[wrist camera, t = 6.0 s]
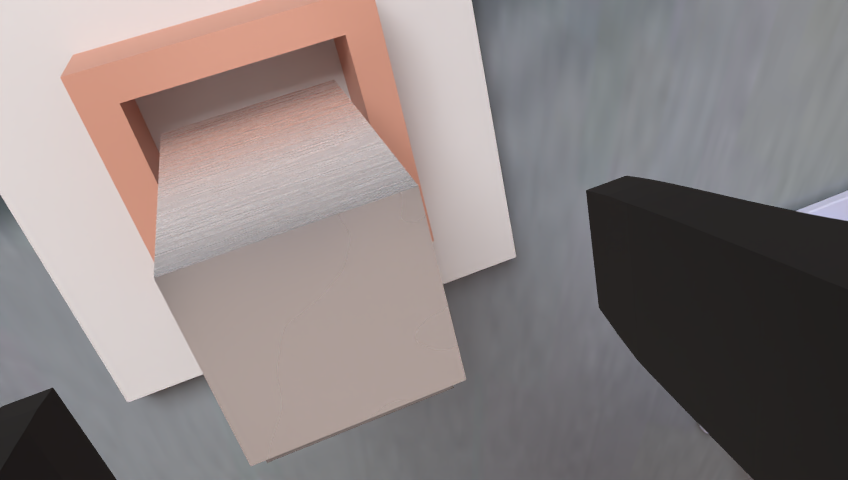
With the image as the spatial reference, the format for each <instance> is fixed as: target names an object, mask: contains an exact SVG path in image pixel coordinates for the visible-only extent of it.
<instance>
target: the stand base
mask: <svg viewBox="0 0 848 480" xmlns="http://www.w3.org/2000/svg"><path fill="white" fill-rule="evenodd" d="M333 79H334V80H335V81H336V82H337V84H338V85H339V86H340V88H341V89H342V90H343V91H344V93H345V94H346V95H347V96H348V98H349V99H350V100H351V101H352V103H353V104H354V105H355V106H356V108H357V109H358V110H359V111H360V113H361V114H362V115H363V117H364V118H365V119H366V120H367V122H368V123H369V124H370V125H371V127H372V128H373V129H374V130H375V132H376V133H377V134H378V135H379V137H380V138H381V139H382V141H383V142H384V143H385V144H386V146H387V147H388V148H389V149H390V151H391V152H392V153H393V154H394V156H395V157H396V158H397V159H398V161H399V162H400V163H401V165H402V166H403V167H404V168H405V170H406V171H407V172H408V173H409V175H410V176H411V177H412V178H413V180H414V181H415V182H416V183H417V185H418V186H419V190H420V194H421V198H422V202H423V206H424V210H425V214H426V218H427V223H428V227H429V231H430V235H431V239H432V243H433V247H434V251H435V255H436V259H437V263H438V267H439V271H440V275H441V279H442V283H443V284H445V283H448V282H451V281H453V280H456V279H459V278H461V277H464V276H467V275H469V274H472V273H475V272H477V271H480V270H483V269H485V268H488V267H491V266H493V265H496V264H499V263H501V262H504V261H507V260H509V259H512V258H515V257H516V253H515V247H514V242H513V236H512V230H511V224H510V219H509V213H508V207H507V201H506V196H505V190H504V184H503V178H502V173H501V167H500V161H499V155H498V150H497V144H496V138H495V132H494V127H493V121H492V115H491V109H490V104H489V98H488V92H487V86H486V81H485V75H484V69H483V63H482V58H481V52H480V46H479V40H478V35H477V29H476V23H475V17H474V12H473V6H472V0H0V195H1V196H2V198H3V199H4V201H5V203H6V204H7V206H8V208H9V209H10V211H11V213H12V214H13V216H14V217H15V219H16V221H17V222H18V224H19V226H20V227H21V229H22V231H23V232H24V234H25V235H26V237H27V239H28V240H29V242H30V244H31V245H32V247H33V249H34V250H35V252H36V253H37V255H38V257H39V258H40V260H41V262H42V263H43V265H44V267H45V268H46V270H47V271H48V273H49V275H50V276H51V278H52V280H53V281H54V283H55V285H56V286H57V288H58V289H59V291H60V293H61V294H62V296H63V298H64V299H65V301H66V303H67V304H68V306H69V307H70V309H71V311H72V312H73V314H74V316H75V317H76V319H77V321H78V322H79V324H80V325H81V327H82V329H83V330H84V332H85V334H86V335H87V337H88V338H89V340H90V342H91V343H92V345H93V347H94V348H95V350H96V352H97V353H98V355H99V356H100V358H101V360H102V361H103V363H104V365H105V366H106V368H107V370H108V371H109V373H110V374H111V376H112V378H113V379H114V381H115V383H116V384H117V386H118V388H119V389H120V391H121V392H122V394H123V396H124V397H125V399H126V401H127V402H130V401H133V400H136V399H138V398H141V397H144V396H146V395H149V394H152V393H154V392H157V391H160V390H162V389H165V388H168V387H170V386H173V385H176V384H178V383H181V382H184V381H186V380H189V379H192V378H194V377H197V376H200V375H202V374H203V373H202V371H201V369H200V367H199V365H198V363H197V361H196V359H195V357H194V355H193V353H192V351H191V349H190V348H189V346H188V344H187V342H186V340H185V338H184V336H183V334H182V332H181V330H180V328H179V326H178V324H177V322H176V320H175V318H174V317H173V315H172V313H171V311H170V309H169V307H168V305H167V303H166V301H165V299H164V297H163V295H162V293H161V291H160V289H159V287H158V285H157V284H156V282H155V280H154V260H155V240H156V219H157V199H158V179H159V159H160V139H161V133H164V132H168V131H171V130H174V129H177V128H180V127H183V126H187V125H190V124H193V123H196V122H199V121H203V120H206V119H209V118H212V117H215V116H218V115H222V114H225V113H228V112H231V111H234V110H238V109H241V108H244V107H247V106H250V105H253V104H257V103H260V102H263V101H266V100H269V99H273V98H276V97H279V96H282V95H285V94H288V93H292V92H295V91H298V90H301V89H304V88H308V87H311V86H314V85H317V84H320V83H323V82H327V81H330V80H333Z"/></svg>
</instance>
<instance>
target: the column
mask: <svg viewBox="0 0 848 480" xmlns="http://www.w3.org/2000/svg"><path fill="white" fill-rule="evenodd" d="M154 280H155V282H156V284H157V285H158V287H159V289H160V291H161V293H162V295H163V297H164V299H165V301H166V303H167V305H168V307H169V309H170V311H171V313H172V315H173V317H174V318H175V320H176V322H177V324H178V326H179V328H180V330H181V332H182V334H183V336H184V338H185V340H186V342H187V344H188V346H189V348H190V349H191V351H192V353H193V355H194V357H195V359H196V361H197V363H198V365H199V367H200V369H201V371H202V373H203V375H204V377H205V379H206V380H207V382H208V384H209V386H210V388H211V390H212V392H213V394H214V396H215V398H216V400H217V402H218V404H219V406H220V408H221V410H222V411H223V413H224V415H225V417H226V419H227V421H228V423H229V425H230V427H231V429H232V431H233V433H234V435H235V437H236V439H237V441H238V442H239V444H240V446H241V448H242V450H243V452H244V454H245V456H246V458H247V460H248V462H249V464H250V466H253V465H255V464H258V463H260V462H263V461H265V460H266V461H267V463H268V462H270V461H273V460H275V459H278V458H280V457H283V456H285V455H288V454H290V453H293V452H295V451H298V450H300V449H303V448H305V447H308V446H310V445H313V444H315V443H317V442H320V441H322V440H325V439H327V438H330V437H332V436H335V435H337V434H340V433H342V432H345V431H347V430H350V429H352V428H355V427H357V426H360V425H362V424H365V423H367V422H370V421H372V420H375V419H377V418H380V417H382V416H385V415H387V414H390V413H392V412H395V411H397V410H400V409H402V408H405V407H407V406H410V405H412V404H414V403H417V402H419V401H422V400H424V399H427V398H429V397H432V396H434V395H437V394H439V393H442V392H444V391H447V390H449V389H452V388H454V387H453V385H455V384H457V383H460V382H462V381H465V380H466V376H465V372H464V368H463V364H462V360H461V356H460V352H459V348H458V344H457V340H456V336H455V332H454V328H453V324H452V320H451V316H450V311H449V307H448V303H447V299H446V295H445V291H444V287H443V283H442V279H441V275H440V271H439V267H438V263H437V259H436V255H435V251H434V247H433V243H432V239H431V235H430V231H429V227H428V223H427V218H426V214H425V210H424V206H423V202H422V198H421V194H420V190H419V186H418V185H417V183H416V182H415V181H414V180H413V178H412V177H411V176H410V175H409V173H408V172H407V171H406V170H405V168H404V167H403V166H402V165H401V163H400V162H399V161H398V159H397V158H396V157H395V156H394V154H393V153H392V152H391V151H390V149H389V148H388V147H387V146H386V144H385V143H384V142H383V141H382V139H381V138H380V137H379V135H378V134H377V133H376V132H375V130H374V129H373V128H372V127H371V125H370V124H369V123H368V122H367V120H366V119H365V118H364V117H363V115H362V114H361V113H360V111H359V110H358V109H357V108H356V106H355V105H354V104H353V103H352V101H351V100H350V99H349V98H348V96H347V95H346V94H345V93H344V91H343V90H342V89H341V88H340V86H339V85H338V84H337V82H336V81H335V80H334V79H333V80H330V81H327V82H323V83H320V84H317V85H314V86H311V87H308V88H304V89H301V90H298V91H295V92H292V93H288V94H285V95H282V96H279V97H276V98H273V99H269V100H266V101H263V102H260V103H257V104H253V105H250V106H247V107H244V108H241V109H238V110H234V111H231V112H228V113H225V114H222V115H218V116H215V117H212V118H209V119H206V120H203V121H199V122H196V123H193V124H190V125H187V126H183V127H180V128H177V129H174V130H171V131H168V132H164V133H161V139H160V159H159V179H158V199H157V219H156V240H155V260H154Z"/></svg>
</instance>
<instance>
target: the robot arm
mask: <svg viewBox="0 0 848 480" xmlns="http://www.w3.org/2000/svg"><path fill="white" fill-rule="evenodd" d="M586 194H587V203H588V212H589V221H590V230H591V239H592V248H593V257H594V267H595V276H596V285H597V294H598V303H599V308H600V310H601V311H602V312H603V314H604V315H605V317H606V318H607V319H608V321H609V322H610V324H611V325H612V326H613V328H614V329H615V331H616V332H617V334H618V335H619V336H620V338H621V339H622V340H623V342H624V343H625V344H626V346H627V347H628V348H629V349H630V351H631V352H632V353H633V355H634V356H635V357H636V359H637V360H638V361H639V362H640V363H641V364H642V365H643V367H644V368H645V369H646V370H647V371H648V372H649V373H650V374H651V375H652V376H653V377H654V378H655V379H656V380H657V381H658V382H659V383H660V384H661V385H662V386H663V388H664V389H665V390H666V391H667V392H668V393H669V394H670V395H671V396H672V397H673V398H674V399H675V400H676V401H677V402H678V403H679V404H680V405H681V406H682V407H683V408H684V409H685V410H686V411H687V412H688V413H689V414H690V415H691V416H692V417H693V418H694V419H695V420H696V421H697V422H698V423H699V426H700V428H701V429H702V430H703V431H704V432H705V433H707V434H709V435H710V436H711V437H712V438H713V439H714V440H715V441H716V442H717V443H718V444H719V445H720V446H721V447H722V448H723V449H724V450H725V451H726V452H727V453H728V454H729V455H730V456H731V457H732V458H733V459H734V460H735V461H736V462H737V463H738V464H739V465H740V466H741V467H742V468H743V469H744V470H745V471H746V472H747V473H748V474H749V475H750V476H751V477H752V478H753V479H754V480H848V191H845V192H843V193H840V194H838V195H835V196H832V197H830V198H827V199H825V200H822V201H820V202H817V203H815V204H812V205H809V206H807V207H804V208H802V209H799V210H797V211H792V210H788V209H783V208H778V207H774V206H769V205H764V204H760V203H755V202H751V201H746V200H742V199H737V198H733V197H729V196H724V195H720V194H715V193H711V192H707V191H702V190H698V189H693V188H689V187H684V186H680V185H675V184H671V183H666V182H661V181H656V180H651V179H645V178H639V177H631V176H624V177H621V178H619V179H616V180H613V181H610V182H608V183H605V184H602V185H600V186H597V187H594V188H591V189H589V190H586ZM0 480H116V478H115V477H114V475H113V474H112V472H111V471H110V470H109V468H108V467H107V465H106V464H105V462H104V461H103V459H102V458H101V456H100V455H99V454H98V452H97V451H96V449H95V448H94V446H93V445H92V443H91V442H90V440H89V439H88V438H87V436H86V435H85V433H84V432H83V430H82V429H81V427H80V426H79V425H78V423H77V422H76V420H75V419H74V417H73V416H72V414H71V413H70V411H69V410H68V409H67V407H66V406H65V404H64V403H63V401H62V400H61V398H60V397H59V396H58V394H57V393H56V391H55V390H54V388H51V389H48V390H45V391H42V392H40V393H37V394H34V395H32V396H29V397H26V398H24V399H21V400H18V401H15V402H13V403H10V404H7V405H5V406H2V407H1V408H0Z"/></svg>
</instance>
